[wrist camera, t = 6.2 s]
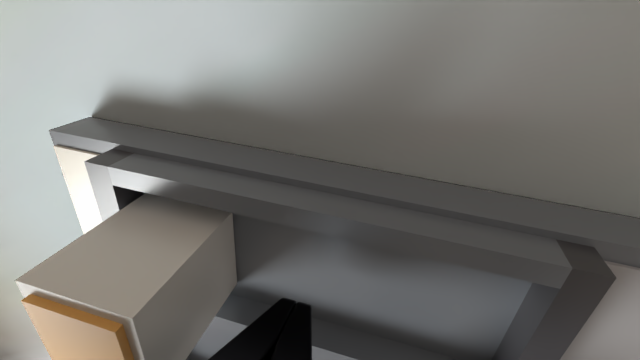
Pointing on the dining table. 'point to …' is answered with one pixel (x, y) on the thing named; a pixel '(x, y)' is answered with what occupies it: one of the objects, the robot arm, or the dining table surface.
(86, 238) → the switch tab
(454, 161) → the dining table surface
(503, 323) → the switch bank
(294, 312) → the robot arm
